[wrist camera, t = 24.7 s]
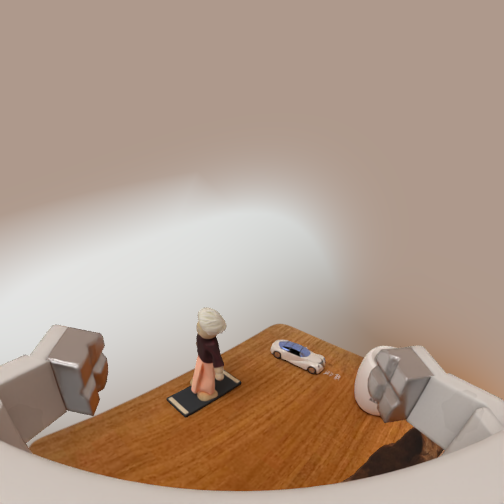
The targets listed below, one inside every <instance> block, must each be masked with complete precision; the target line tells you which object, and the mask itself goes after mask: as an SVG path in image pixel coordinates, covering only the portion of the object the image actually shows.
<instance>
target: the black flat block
mask: <svg viewBox="0 0 504 504" xmlns="http://www.w3.org/2000/svg"><path fill="white" fill-rule="evenodd" d="M215 374H216V373H215ZM223 374H224V379H223V380H221V381H218V380H216V378H215V390H216V391H217V393H218V396H217V397H216V398H213V399H211V400H209V401H201V400H200V399H199V398H198V397H197V393H196V394H195V393H193V392H192V390H191V387H192V386H189V387H187V388H185V389H184V390H182V391H180V392H178V393H176V394H174V395H172V396H170V397H168V398H167V401H168V402H169V403H170V404H171V405H172V406H174V407H175V408H176V409H177V410H178V411H179V412H180V413H181V414H182V415H183V416H184V417H188V416H189V415H191V414H193V413H194V412H196V411H198V410H200V409H201V408H203V407H205V406H206V405H208V404H210V403H211V402H213V401H215V400H216V399H218V398H220V397H221V396H223V395H224V394H226V393H228V392H229V391H231V390H232V389H234V388H235V387H237V386H239V385H240V384H241V381H239V380H238V379H236V378H235V377H234V376H232V375H231V374H229V373H228V372H226V371H225V370H224V369H223Z"/></svg>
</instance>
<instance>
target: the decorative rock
mask: <svg viewBox="0 0 504 504" xmlns="http://www.w3.org/2000/svg"><path fill="white" fill-rule="evenodd" d="M443 450H444V449H442V448H441V447H440V446H438V445H437V444H436V443H434V442H433V441H432V440H431V439H429V438H428V437H427V436H425V435H424V434H423V433H422V432H420V431H419V430H418V429H416V428H415V427H413V428H411V429H410V430H409V431H408V432H407V433H406V434H405V435H404V436H403V437H402V438H401V439H400V440H398V441H397V442H396V443H391V444H389V445H384V446H382V447H381V448H379V449H378V450H377V451H376V452H375V453H373V454H372V455H371V456H370V457H369V459H368V461H367V462H366V463H365V464H364V465H363V466H361V467H360V468H359V469H358V470H357V472H356V473H355V474H354V475H352V476H350V477H349V478H347V479H346V480H344V481H343V482H348V481H353V480H358V479H363V478H368V477H372V476H377V475H381V474H385V473H389V472H393V471H397V470H400V469H404V468H407V467H411V466H414V465H417V464H420V463H423V462H427V461H430V460H432V459H435V458H438V456H439V455H440V454H441V453H442V451H443ZM341 483H342V482H341Z"/></svg>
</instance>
